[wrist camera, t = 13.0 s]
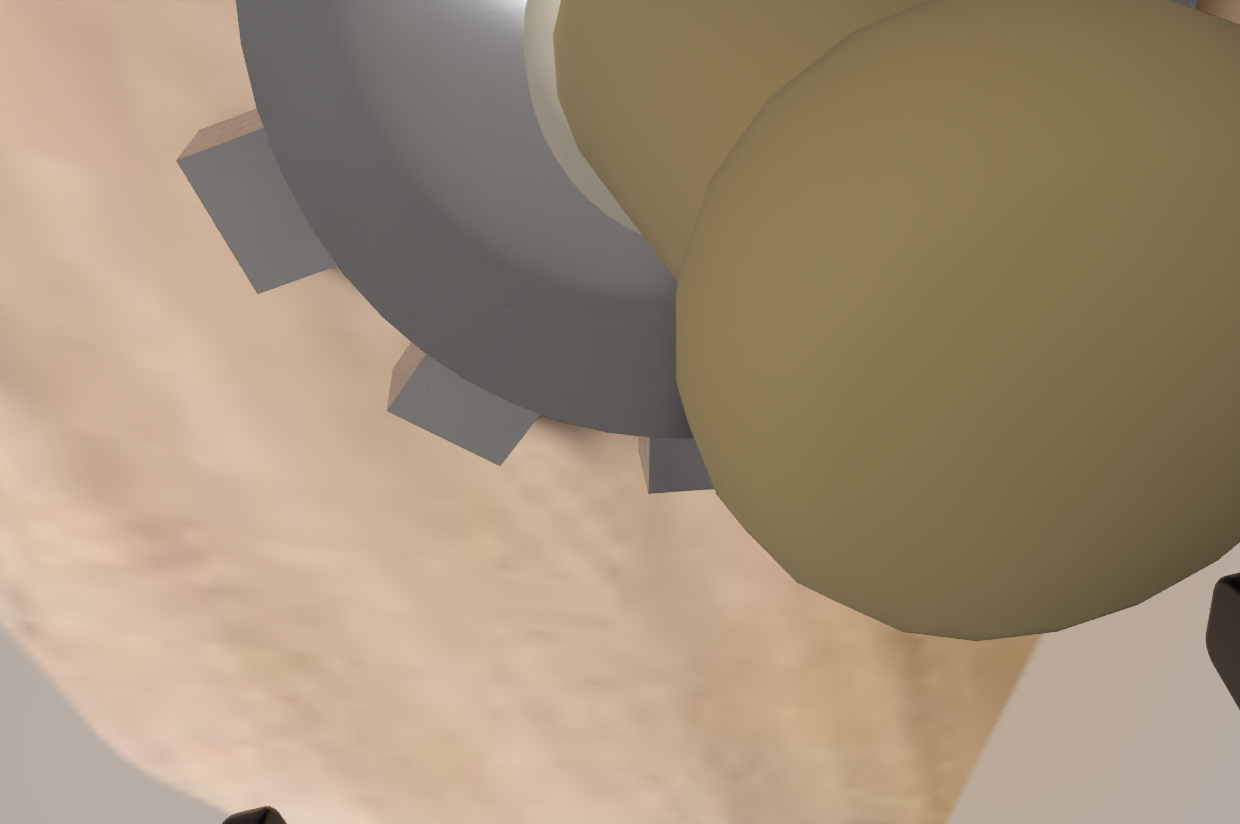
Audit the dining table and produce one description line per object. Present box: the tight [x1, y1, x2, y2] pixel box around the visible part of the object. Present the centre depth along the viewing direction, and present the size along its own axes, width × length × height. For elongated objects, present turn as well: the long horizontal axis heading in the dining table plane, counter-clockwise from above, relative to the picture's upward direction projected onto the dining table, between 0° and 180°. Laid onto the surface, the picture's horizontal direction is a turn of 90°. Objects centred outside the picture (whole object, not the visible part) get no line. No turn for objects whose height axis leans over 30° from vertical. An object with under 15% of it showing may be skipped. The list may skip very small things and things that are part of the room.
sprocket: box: [176, 0, 1198, 494], centre depth 15 cm, size 19×18×6 cm
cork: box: [553, 0, 1240, 641], centre depth 11 cm, size 6×6×11 cm
